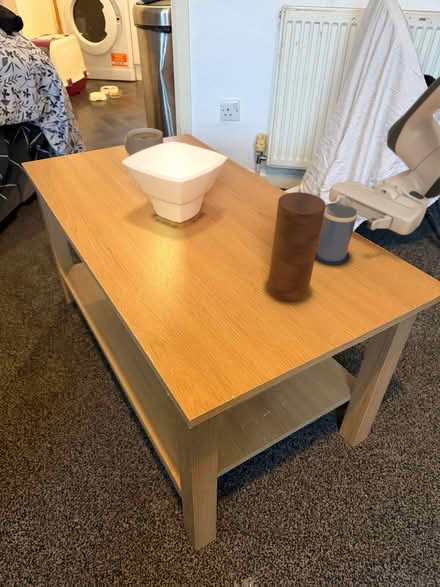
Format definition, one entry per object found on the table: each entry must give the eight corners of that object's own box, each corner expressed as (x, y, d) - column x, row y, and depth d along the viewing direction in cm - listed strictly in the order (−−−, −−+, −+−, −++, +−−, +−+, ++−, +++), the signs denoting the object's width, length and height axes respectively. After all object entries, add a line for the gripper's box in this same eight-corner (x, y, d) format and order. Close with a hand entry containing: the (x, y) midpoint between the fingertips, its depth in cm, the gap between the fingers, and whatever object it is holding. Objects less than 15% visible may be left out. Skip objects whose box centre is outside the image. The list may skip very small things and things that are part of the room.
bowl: (172, 191, 109) (169, 138, 101) (232, 212, 101) (235, 156, 92) (121, 218, 97) (113, 160, 88) (185, 245, 89) (182, 184, 80)
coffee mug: (171, 169, 121) (169, 134, 115) (143, 177, 116) (139, 142, 109) (146, 156, 129) (143, 122, 122) (118, 163, 123) (113, 129, 117)
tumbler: (346, 247, 89) (357, 205, 83) (346, 264, 84) (358, 220, 78) (315, 242, 90) (323, 200, 84) (313, 259, 85) (322, 216, 79)
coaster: (348, 247, 90) (348, 245, 89) (349, 267, 84) (350, 266, 83) (311, 242, 91) (311, 241, 91) (310, 262, 85) (310, 261, 84)
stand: (308, 280, 80) (325, 194, 69) (307, 304, 74) (325, 215, 63) (269, 275, 81) (280, 189, 70) (265, 298, 75) (276, 210, 64)
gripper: (354, 169, 96) (315, 184, 89) (436, 202, 84) (398, 222, 77) (348, 194, 100) (310, 210, 93) (425, 229, 88) (388, 250, 81)
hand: (350, 216), depth 85 cm, fingers open, 8 cm apart
